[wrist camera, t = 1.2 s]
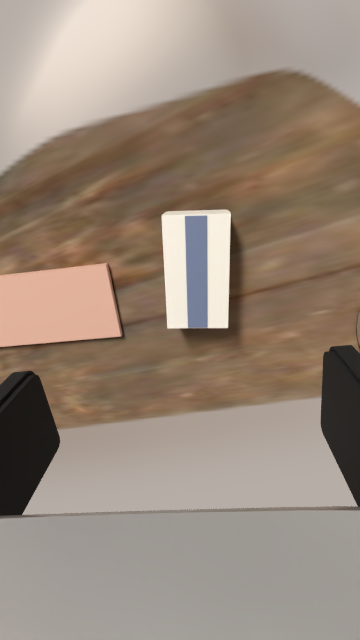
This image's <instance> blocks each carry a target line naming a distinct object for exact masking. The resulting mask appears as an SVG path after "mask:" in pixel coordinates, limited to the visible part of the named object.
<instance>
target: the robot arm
mask: <svg viewBox="0 0 360 640" xmlns="http://www.w3.org/2000/svg"><path fill="white" fill-rule="evenodd" d="M357 338H358V342H359V345H360V312H359V315H358V321H357ZM321 428H322V432H323V435H324V436H325V439H326V441H327V443H328V445H329V447H330V449H331V451H332V453H333V455H334V457H335V459H336V462H337V464H338V466H339V468H340V470H341V472H342V474H343V476H344V478H345V480H346V482H347V484H348V487H349V488H350V491H351V493H352V494H353V497H354V499H355V501H356V503H357V505H358V507H346V506H344V507H341V506H333V507H280V508H279V507H278V508H237V509H200V510H199V509H197V510H160V511H130V512H129V511H128V512H127V511H126V512H96V513H64V514H41V515H40V514H37V515H22V513H23V512H24V510H25V508H26V506H27V504H28V503H29V501H30V499H31V497H32V495H33V493H34V492H35V490H36V488H37V486H38V484H39V483H40V481H41V479H42V477H43V475H44V473H45V472H46V470H47V468H48V466H49V464H50V463H51V461H52V459H53V457H54V455H55V453H56V452H57V450H58V448H59V444H60V437H59V434H58V431H57V428H56V425H55V422H54V419H53V416H52V413H51V410H50V407H49V404H48V401H47V398H46V395H45V392H44V389H43V386H42V383H41V380H40V378H39V376H38V375H35V374H34V373H33V372H32V371H24V372H14V373H12V374H11V375H10V376H9V377H8V378H7V379H6V380H5V381H4V382H3V383H2V384H1V385H0V640H360V354H359V353H358V351H357V350H356V349H355V348H354V347H353V346H352V345H346V346H334V347H331V348H330V350H329V352H325V353H324V356H323V379H322V404H321Z"/></svg>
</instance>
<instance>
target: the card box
mask: <svg viewBox="0 0 360 640" xmlns="http://www.w3.org/2000/svg"><path fill="white" fill-rule="evenodd" d="M230 223H231V213H230V212H229V211H228V210H199V211H167V212H166V213H164V214H163V215H162V233H163V252H164V271H165V290H166V309H167V328H228V308H229V266H230Z"/></svg>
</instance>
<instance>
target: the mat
mask: <svg viewBox="0 0 360 640" xmlns="http://www.w3.org/2000/svg"><path fill="white" fill-rule="evenodd" d="M122 334H123V333H122V329H121V324H120V319H119V314H118V310H117V305H116V300H115V295H114V291H113V286H112V281H111V276H110V272H109V267H108V263H105V264H96V265H87V266H78V267H69V268H61V269H52V270H43V271H34V272H25V273H17V274H8V275H0V347H5V346H17V345H28V344H40V343H51V342H63V341H74V340H86V339H97V338H109V337H120V336H122Z"/></svg>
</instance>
